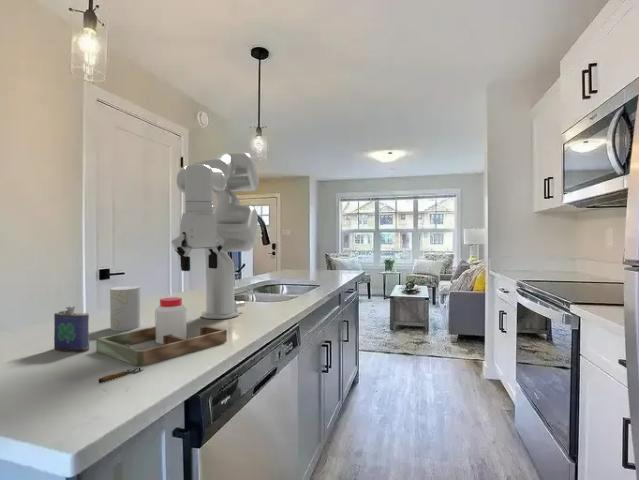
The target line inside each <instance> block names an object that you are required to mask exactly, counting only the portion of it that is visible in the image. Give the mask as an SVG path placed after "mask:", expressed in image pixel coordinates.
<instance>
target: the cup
mask: <svg viewBox="0 0 639 480" xmlns="http://www.w3.org/2000/svg"><path fill="white" fill-rule="evenodd" d="M109 302H110V305H109V311H110V316H109V318H110V322H109V323H110V330H111V331H117V332H118V331H120V332H121V331H122V332H123V331H130V330H132V331H133V330H135V329H139V328H140V327H141V286H139V285H138V286H135V285H129V286H127V285H125V286H115V287H111V288H110V289H109Z"/></svg>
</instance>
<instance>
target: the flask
mask: <svg viewBox="0 0 639 480" xmlns="http://www.w3.org/2000/svg"><path fill="white" fill-rule="evenodd" d="M75 308H76V307H75V306H65V309H67V310H62V311H61V310H60V311H58V312H55V313H54V315H53V316H54V321H53V322H54V324H53V325H54V328H53V329H54V334H53V335H54V339H53V340H54V343H53V344H54V346H53V350H54V351H56V352H73V353H74V352H76V353H80V352H81V353H82V352H88V351H89V349H90V341H89V340H90V334H89V333H90V332H89V318H90V316H89V313H87V312H86V313H79V312H78V313H77V312H75Z"/></svg>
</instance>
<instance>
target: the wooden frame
mask: <svg viewBox="0 0 639 480" xmlns="http://www.w3.org/2000/svg"><path fill="white" fill-rule="evenodd" d="M227 335H228V334H227V330H226V329H223V328H217V327H214V326H208V325H204V326H201V327H200V328H199V336H195V337H190V338H187V339H183V338H179V337H175V336H172V335H171V334H170V335H165V336H163V344H161V345H159V346H155V347H150V348H148V349H143V350H140V349H137V348H134V347H130V346H131V345H133V344H138V343H143V342H146V341H147V342H148V341H151V340H154V339H155V340H156V334H155V326H152V327H146V328H143V329H138V330H134V331H133V330H132V331H128V332H123V333H117V334H113V335H108V336H104V337H103V336H101V337H98V338H95V341H96V342H95V343H96V344H95V345H96V350H95V351H96V352H98V353H99V354H103V355H106V356H108V357H112V358H114V359H116V360H120V361H123V362H125V363H128V364H131V365H134V366H137V367H143V366H146V365H149V364H153V363H157V362H159V361H160V362H161V361H163V360H167V359H170V358H173V357H178V356H181V355H184V354H189V353H191V352H195V351H200V350H202V349H206V348H209V347H213V346H216V345H220V344H224V343H226V342H228V340H227V339H228V338H227V337H228V336H227Z"/></svg>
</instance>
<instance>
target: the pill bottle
mask: <svg viewBox="0 0 639 480" xmlns="http://www.w3.org/2000/svg"><path fill="white" fill-rule="evenodd" d="M154 314H155V317H154V318H155V322H154V323H155V326H154V327H155V334H156V338H155V343H156V344H160V345H163V336H165V335H170V334H171V335H172V336H175V337H179V338H183V339H188V338H187V337H188V336H187V335H188V334H187V331H188V330H187V307H186V306H185V305H184V304H183V300H182V298H181V297H173V296H172V297H164V298H160V299H159V305H158V306H157V308H155V313H154Z"/></svg>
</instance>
